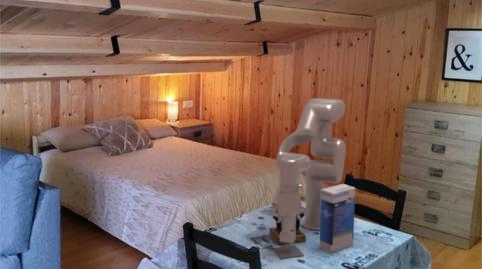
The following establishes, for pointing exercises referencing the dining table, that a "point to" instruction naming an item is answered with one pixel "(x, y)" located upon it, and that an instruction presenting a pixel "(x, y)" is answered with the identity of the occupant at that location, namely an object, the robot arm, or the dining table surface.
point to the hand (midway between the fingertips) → (288, 229)
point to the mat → (288, 252)
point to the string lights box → (337, 217)
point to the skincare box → (288, 228)
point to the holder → (299, 239)
